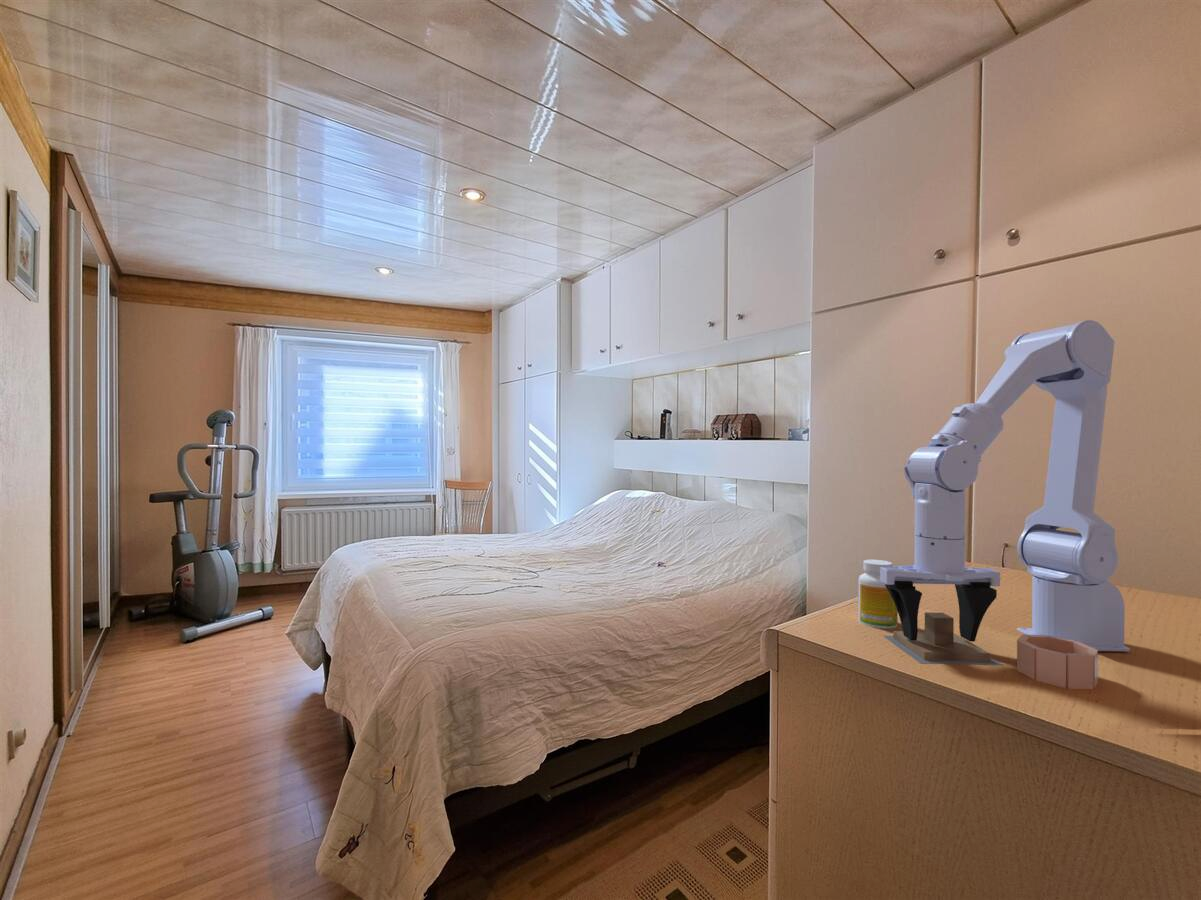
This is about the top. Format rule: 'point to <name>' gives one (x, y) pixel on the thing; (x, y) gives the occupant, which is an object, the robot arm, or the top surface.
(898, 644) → the mat
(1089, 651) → the bowl
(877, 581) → the supplement bottle
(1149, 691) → the top surface
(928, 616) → the lid
